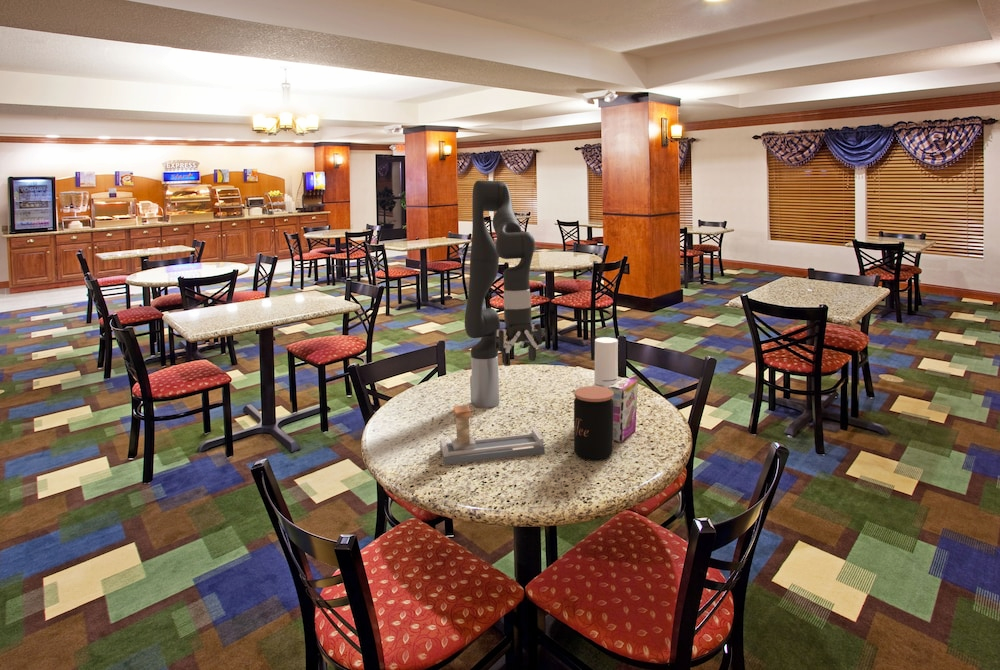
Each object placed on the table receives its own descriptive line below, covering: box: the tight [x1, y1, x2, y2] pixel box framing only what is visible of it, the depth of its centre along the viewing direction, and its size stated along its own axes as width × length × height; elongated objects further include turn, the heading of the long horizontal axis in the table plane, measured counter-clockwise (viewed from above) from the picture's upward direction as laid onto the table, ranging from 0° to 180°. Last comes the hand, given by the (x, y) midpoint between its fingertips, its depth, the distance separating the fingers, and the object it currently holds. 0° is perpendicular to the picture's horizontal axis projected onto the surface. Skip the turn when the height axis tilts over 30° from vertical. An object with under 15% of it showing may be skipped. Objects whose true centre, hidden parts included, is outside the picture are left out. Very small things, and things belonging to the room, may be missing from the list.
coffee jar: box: [573, 385, 614, 462], centre depth 166 cm, size 11×11×18 cm
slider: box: [450, 404, 476, 451], centre depth 167 cm, size 6×5×12 cm
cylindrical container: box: [593, 336, 619, 388], centre depth 193 cm, size 7×7×25 cm
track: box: [439, 427, 546, 466], centre depth 170 cm, size 28×10×4 cm, turn 102°
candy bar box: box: [608, 377, 639, 443], centre depth 178 cm, size 11×5×16 cm, turn 145°
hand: (519, 362), depth 169 cm, fingers open, 8 cm apart
